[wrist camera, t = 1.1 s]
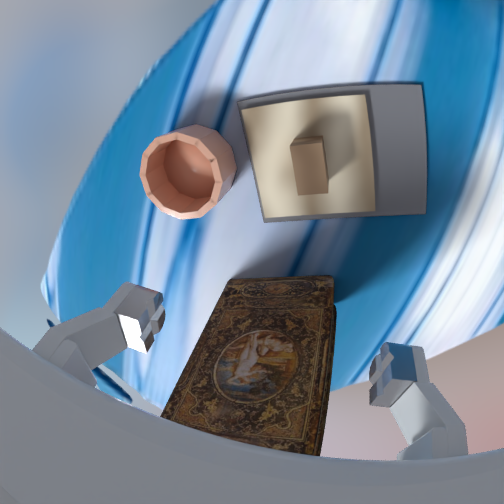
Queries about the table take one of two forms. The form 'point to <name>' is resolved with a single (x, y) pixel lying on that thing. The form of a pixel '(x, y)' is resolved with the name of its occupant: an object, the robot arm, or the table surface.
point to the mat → (377, 146)
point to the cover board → (338, 147)
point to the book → (262, 365)
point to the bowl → (188, 171)
